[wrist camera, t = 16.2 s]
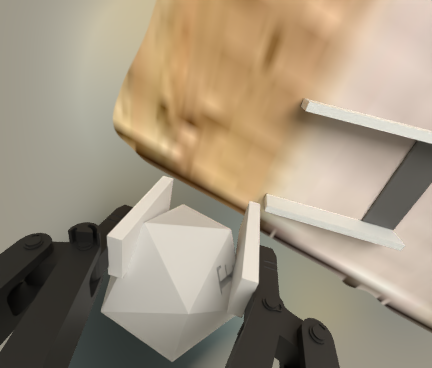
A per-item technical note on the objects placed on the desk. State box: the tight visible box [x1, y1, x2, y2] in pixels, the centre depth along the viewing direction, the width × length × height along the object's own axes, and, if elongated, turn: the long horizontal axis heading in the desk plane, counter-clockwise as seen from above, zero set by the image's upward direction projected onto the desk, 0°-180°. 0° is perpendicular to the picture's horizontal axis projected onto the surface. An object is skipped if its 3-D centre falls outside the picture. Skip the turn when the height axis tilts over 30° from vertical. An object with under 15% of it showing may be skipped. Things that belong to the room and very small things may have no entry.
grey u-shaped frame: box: [264, 98, 432, 251], centre depth 28 cm, size 19×15×4 cm
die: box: [101, 204, 236, 362], centre depth 15 cm, size 8×9×10 cm
